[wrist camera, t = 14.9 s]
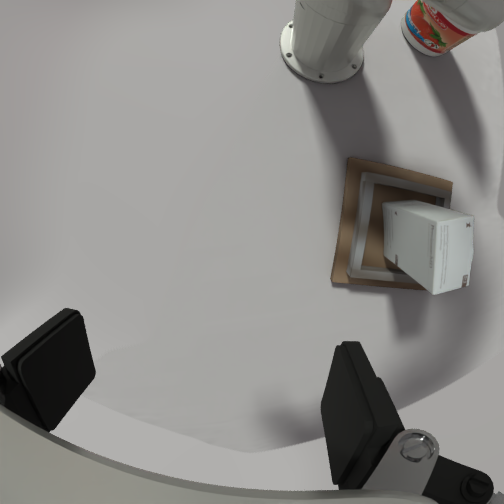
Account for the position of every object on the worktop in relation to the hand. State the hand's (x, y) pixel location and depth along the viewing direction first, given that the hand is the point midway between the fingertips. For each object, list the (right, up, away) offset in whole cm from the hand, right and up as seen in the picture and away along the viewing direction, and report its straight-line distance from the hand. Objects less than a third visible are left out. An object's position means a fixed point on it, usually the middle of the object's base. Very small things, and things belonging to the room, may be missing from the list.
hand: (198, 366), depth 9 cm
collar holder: (+23, +8, +30) cm, 39 cm away
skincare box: (+24, +7, +29) cm, 38 cm away
